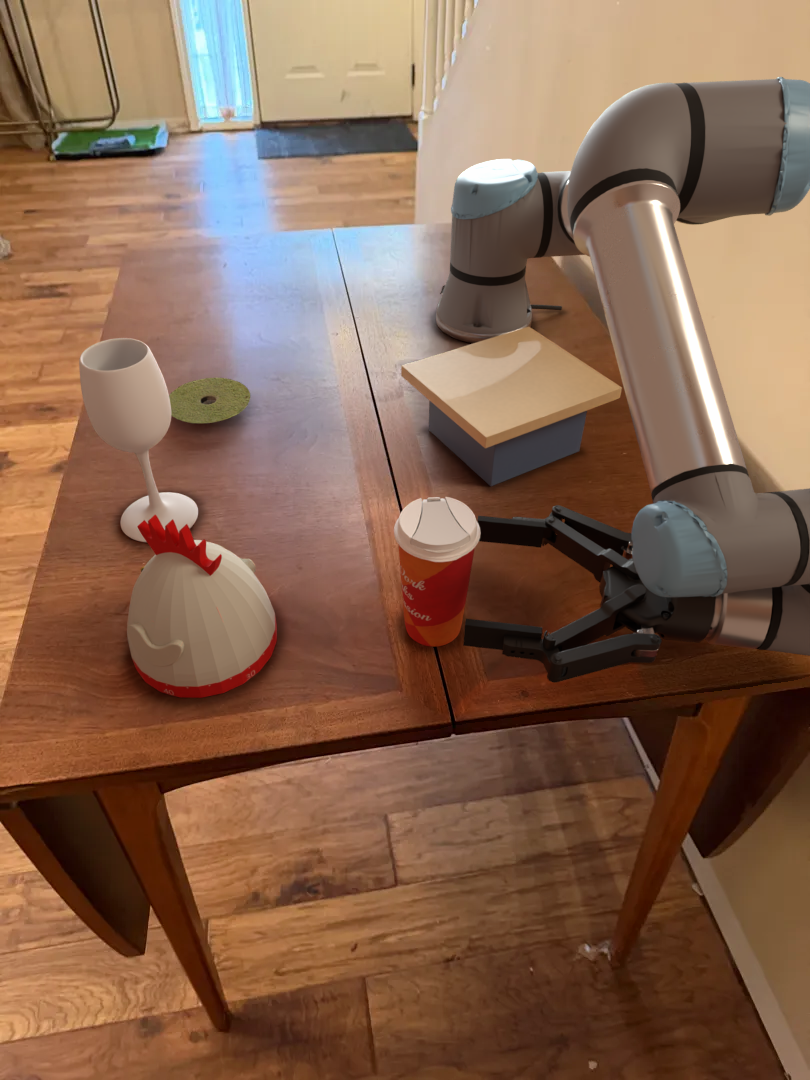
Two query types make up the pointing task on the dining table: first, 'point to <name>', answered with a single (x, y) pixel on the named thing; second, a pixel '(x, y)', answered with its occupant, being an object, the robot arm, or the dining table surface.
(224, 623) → the kitchen timer
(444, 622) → the paper cup
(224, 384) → the green disc with hole
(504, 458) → the stand
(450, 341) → the dining table surface
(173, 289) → the dining table surface
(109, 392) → the wineglass
